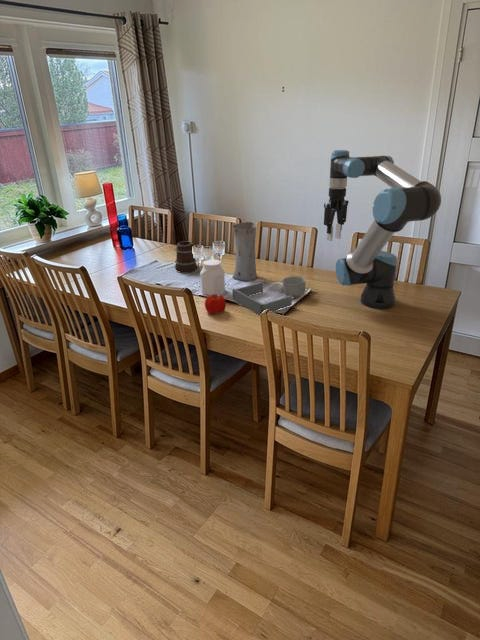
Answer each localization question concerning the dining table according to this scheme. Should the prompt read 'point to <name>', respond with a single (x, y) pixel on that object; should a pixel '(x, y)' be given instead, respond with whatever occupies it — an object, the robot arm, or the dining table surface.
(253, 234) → the vase
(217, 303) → the tomato
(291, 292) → the teacup
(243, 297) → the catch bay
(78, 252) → the dining table surface
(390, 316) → the dining table surface
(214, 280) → the jar
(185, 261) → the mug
